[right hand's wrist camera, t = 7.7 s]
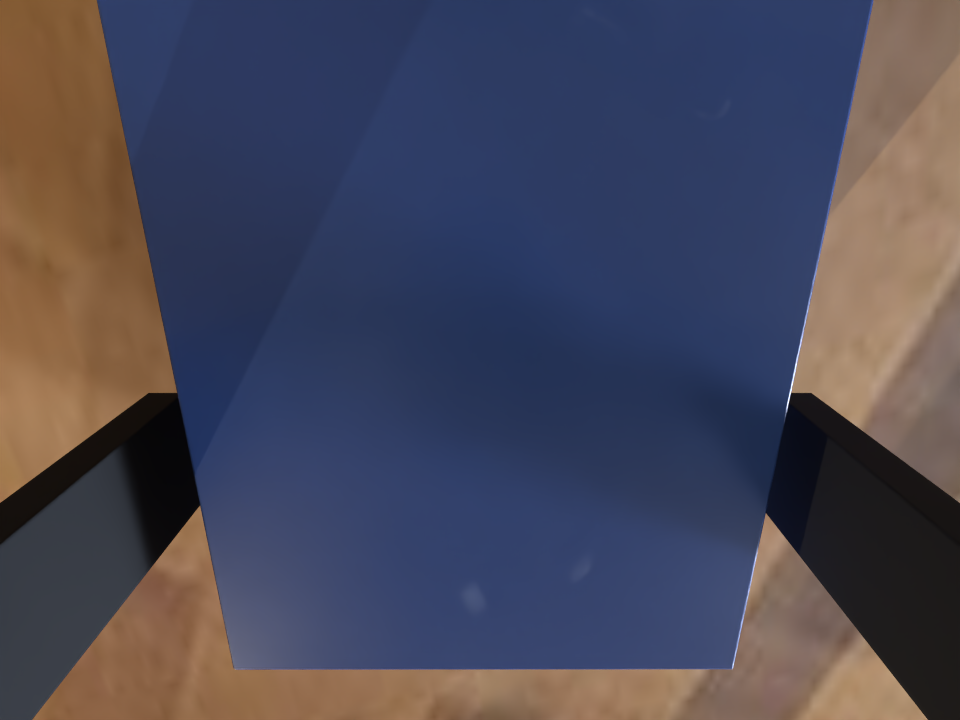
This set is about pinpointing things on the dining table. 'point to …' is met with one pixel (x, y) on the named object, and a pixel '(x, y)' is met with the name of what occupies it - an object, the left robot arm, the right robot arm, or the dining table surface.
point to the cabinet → (484, 310)
